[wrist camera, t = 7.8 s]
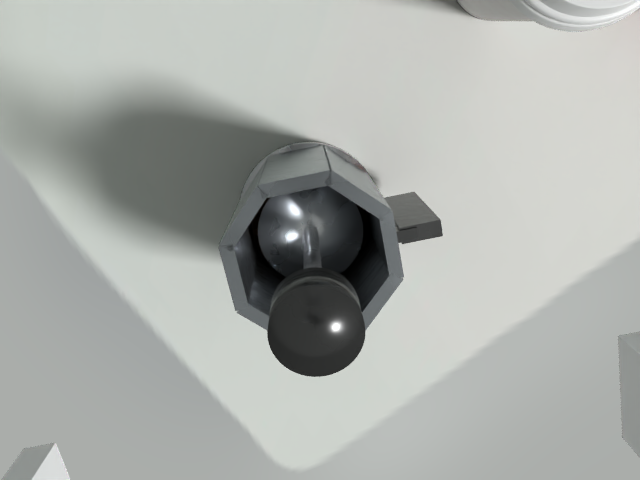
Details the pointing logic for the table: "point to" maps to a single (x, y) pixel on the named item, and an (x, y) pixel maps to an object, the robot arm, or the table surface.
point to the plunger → (313, 279)
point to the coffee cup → (554, 12)
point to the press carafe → (352, 182)
